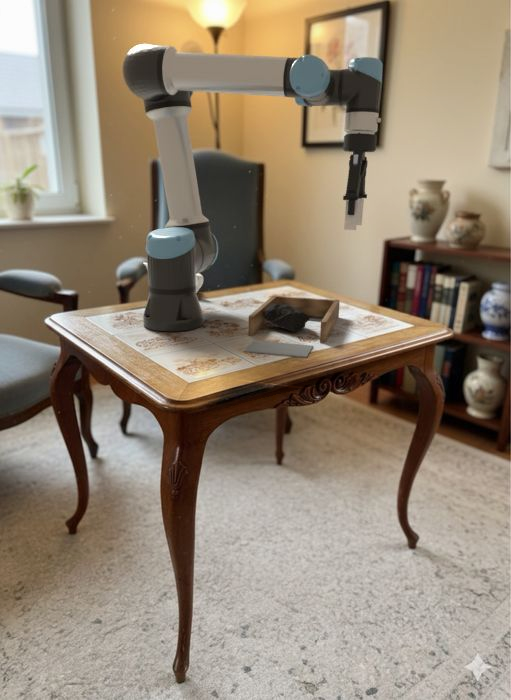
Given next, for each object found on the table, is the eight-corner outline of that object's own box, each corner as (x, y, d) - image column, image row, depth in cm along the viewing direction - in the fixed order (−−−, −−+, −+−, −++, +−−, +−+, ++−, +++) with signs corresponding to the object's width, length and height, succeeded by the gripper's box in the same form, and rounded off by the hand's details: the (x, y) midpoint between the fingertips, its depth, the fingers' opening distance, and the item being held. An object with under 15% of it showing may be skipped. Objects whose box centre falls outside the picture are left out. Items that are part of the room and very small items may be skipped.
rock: (299, 315, 125) (292, 284, 130) (264, 338, 130) (259, 307, 136) (319, 329, 130) (311, 298, 135) (285, 350, 135) (279, 319, 141)
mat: (243, 351, 117) (243, 350, 117) (253, 341, 124) (253, 340, 124) (306, 357, 113) (306, 356, 113) (313, 346, 121) (313, 345, 121)
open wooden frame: (248, 336, 128) (248, 316, 127) (272, 313, 150) (273, 295, 149) (325, 343, 123) (326, 322, 122) (338, 318, 145) (339, 300, 144)
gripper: (373, 129, 112) (364, 232, 119) (380, 137, 135) (372, 223, 142) (337, 129, 114) (330, 231, 121) (350, 137, 137) (344, 222, 143)
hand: (353, 227), depth 131 cm, fingers open, 13 cm apart
